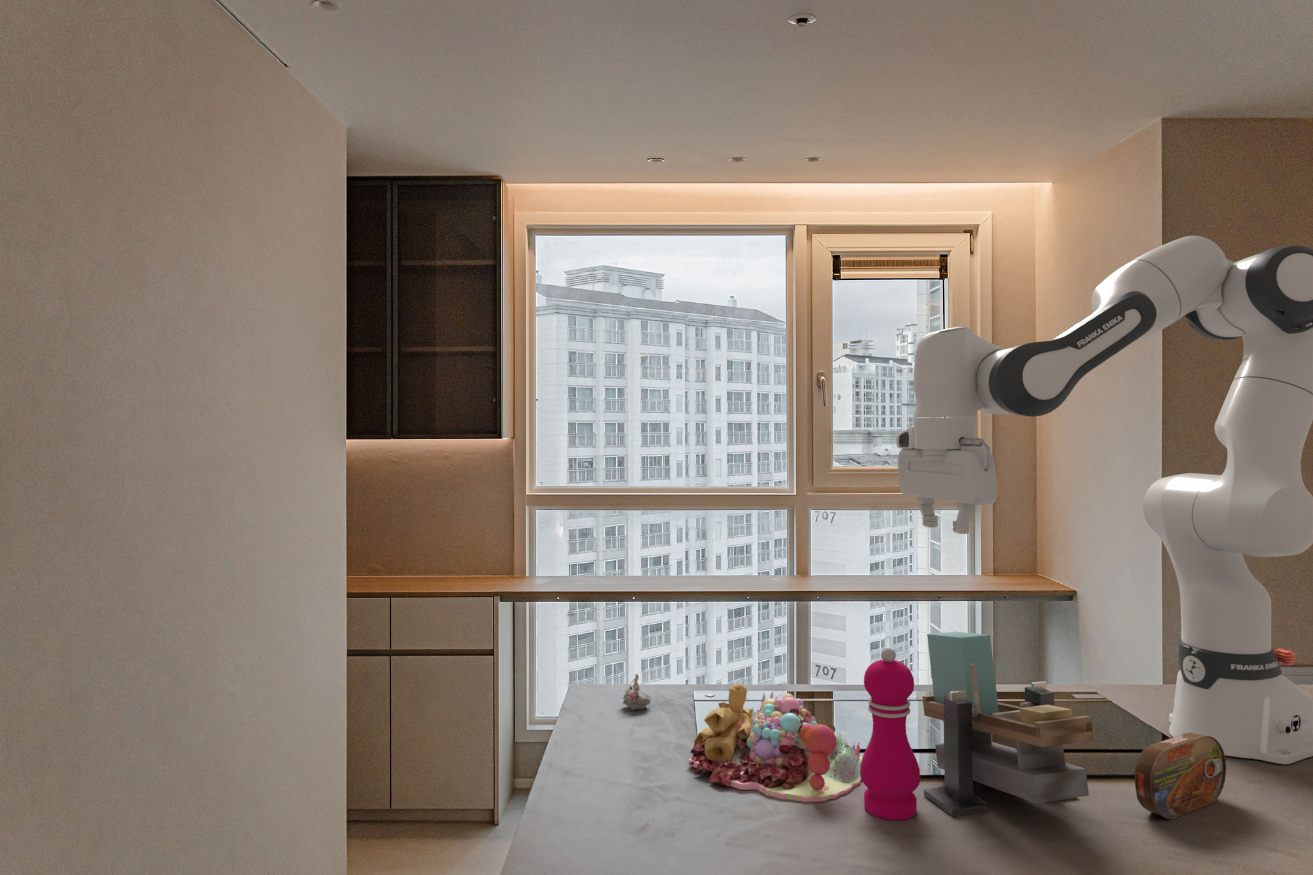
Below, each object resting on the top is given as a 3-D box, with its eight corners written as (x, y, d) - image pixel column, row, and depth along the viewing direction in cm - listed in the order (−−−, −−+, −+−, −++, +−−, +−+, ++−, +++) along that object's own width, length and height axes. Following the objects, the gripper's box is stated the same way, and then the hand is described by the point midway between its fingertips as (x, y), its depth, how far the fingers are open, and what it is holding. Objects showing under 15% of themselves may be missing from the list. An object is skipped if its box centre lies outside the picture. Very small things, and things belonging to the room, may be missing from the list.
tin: (1154, 826, 102) (1154, 755, 101) (1129, 815, 104) (1128, 746, 104) (1229, 798, 108) (1229, 731, 108) (1203, 789, 111) (1203, 724, 111)
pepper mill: (923, 824, 103) (921, 657, 102) (861, 820, 104) (859, 654, 104) (917, 798, 110) (916, 641, 109) (859, 794, 111) (857, 639, 111)
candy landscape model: (665, 784, 116) (664, 716, 116) (719, 725, 138) (718, 668, 138) (853, 812, 107) (852, 738, 107) (879, 744, 129) (878, 683, 129)
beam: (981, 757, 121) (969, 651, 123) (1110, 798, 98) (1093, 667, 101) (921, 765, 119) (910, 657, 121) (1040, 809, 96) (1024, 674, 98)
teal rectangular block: (962, 704, 121) (954, 631, 122) (999, 712, 113) (989, 634, 115) (935, 707, 120) (927, 634, 121) (969, 716, 112) (960, 637, 114)
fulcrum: (1043, 777, 115) (1042, 673, 115) (1076, 796, 110) (1075, 686, 109) (924, 795, 111) (922, 686, 110) (951, 816, 105) (950, 701, 105)
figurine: (654, 706, 147) (654, 672, 147) (645, 714, 143) (644, 680, 143) (627, 703, 149) (626, 670, 149) (617, 711, 145) (616, 677, 145)
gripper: (1008, 438, 119) (1009, 538, 120) (925, 436, 139) (925, 521, 139) (969, 438, 118) (969, 540, 118) (890, 436, 138) (890, 523, 138)
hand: (945, 530), depth 129 cm, fingers open, 6 cm apart
